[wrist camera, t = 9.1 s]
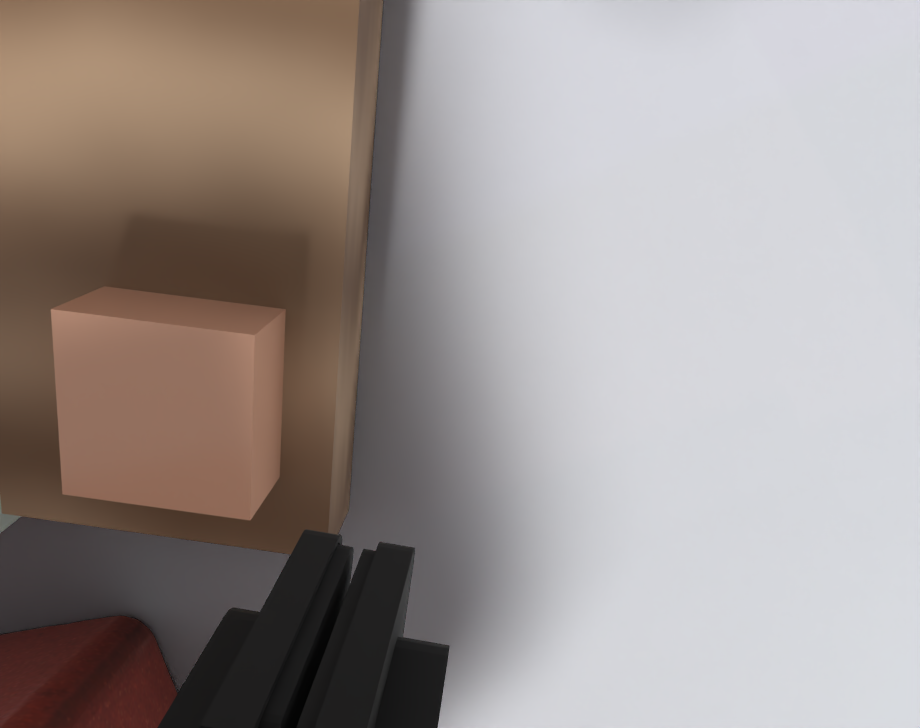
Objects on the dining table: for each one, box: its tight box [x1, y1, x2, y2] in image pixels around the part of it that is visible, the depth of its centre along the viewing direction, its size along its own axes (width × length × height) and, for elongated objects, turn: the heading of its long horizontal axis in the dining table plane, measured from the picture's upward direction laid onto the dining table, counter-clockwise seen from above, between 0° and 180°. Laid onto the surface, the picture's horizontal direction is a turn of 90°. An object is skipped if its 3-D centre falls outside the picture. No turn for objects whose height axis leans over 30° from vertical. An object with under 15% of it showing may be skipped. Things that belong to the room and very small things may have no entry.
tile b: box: [51, 286, 286, 520], centre depth 21 cm, size 5×5×2 cm
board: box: [0, 0, 383, 554], centre depth 22 cm, size 18×10×3 cm, turn 174°
